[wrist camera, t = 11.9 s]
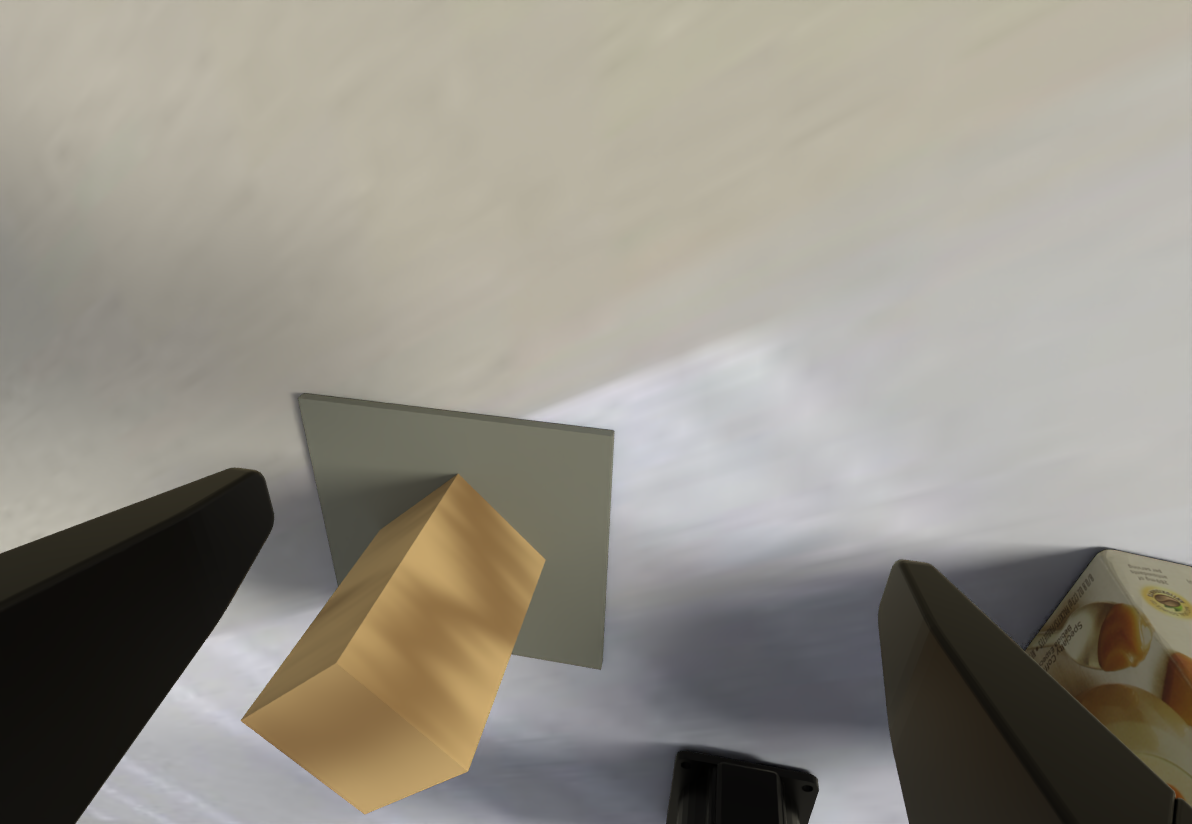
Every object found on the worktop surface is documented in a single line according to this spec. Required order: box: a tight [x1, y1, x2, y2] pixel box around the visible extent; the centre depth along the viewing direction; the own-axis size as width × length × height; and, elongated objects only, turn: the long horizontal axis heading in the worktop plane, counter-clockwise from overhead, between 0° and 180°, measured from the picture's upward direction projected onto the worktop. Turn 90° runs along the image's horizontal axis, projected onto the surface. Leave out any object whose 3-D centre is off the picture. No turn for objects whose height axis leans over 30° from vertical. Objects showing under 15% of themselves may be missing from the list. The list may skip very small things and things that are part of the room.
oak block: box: [241, 474, 545, 814], centre depth 23 cm, size 5×5×9 cm
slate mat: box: [298, 393, 614, 670], centre depth 27 cm, size 12×12×1 cm
